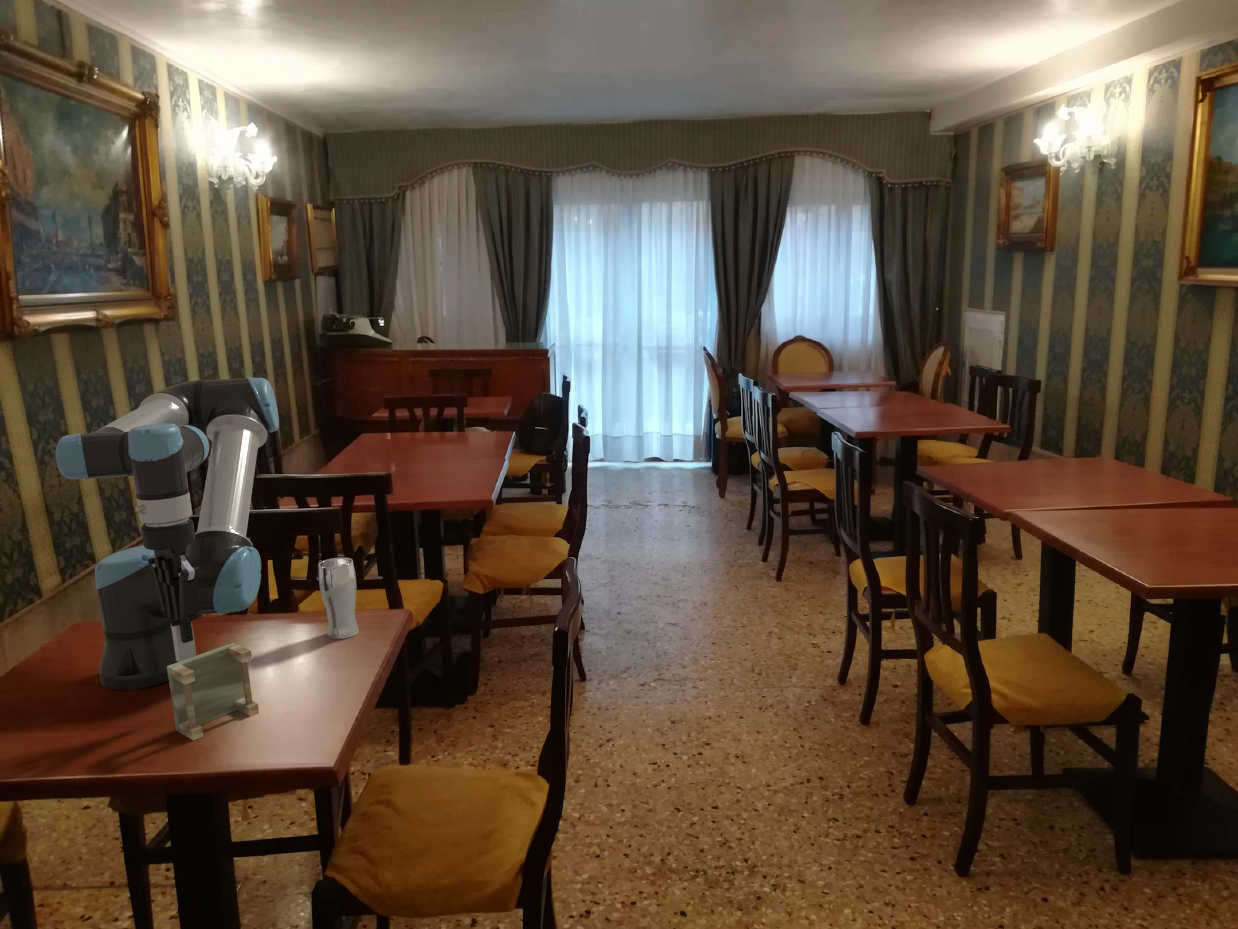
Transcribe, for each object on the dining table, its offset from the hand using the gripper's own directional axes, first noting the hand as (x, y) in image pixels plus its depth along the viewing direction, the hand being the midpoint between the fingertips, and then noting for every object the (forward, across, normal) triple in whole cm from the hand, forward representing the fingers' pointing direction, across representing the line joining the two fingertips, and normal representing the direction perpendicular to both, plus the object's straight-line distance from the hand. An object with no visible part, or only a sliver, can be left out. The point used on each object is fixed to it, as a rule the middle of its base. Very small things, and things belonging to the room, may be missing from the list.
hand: (186, 658), depth 147 cm
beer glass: (+9, -7, +34) cm, 36 cm away
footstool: (+9, +8, 0) cm, 12 cm away
